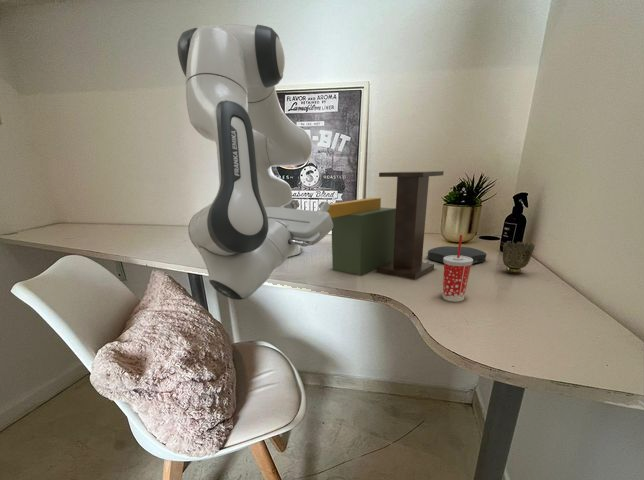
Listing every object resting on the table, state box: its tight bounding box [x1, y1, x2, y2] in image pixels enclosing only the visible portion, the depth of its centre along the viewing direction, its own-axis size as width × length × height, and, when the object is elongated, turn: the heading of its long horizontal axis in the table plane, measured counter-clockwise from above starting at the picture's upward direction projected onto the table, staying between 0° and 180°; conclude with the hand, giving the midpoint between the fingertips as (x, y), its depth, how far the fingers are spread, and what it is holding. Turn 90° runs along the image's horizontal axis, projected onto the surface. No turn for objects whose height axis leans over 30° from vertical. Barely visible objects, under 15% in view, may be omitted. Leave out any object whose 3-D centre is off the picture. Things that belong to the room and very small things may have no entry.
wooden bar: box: [327, 197, 382, 218], centre depth 91 cm, size 3×22×3 cm, turn 141°
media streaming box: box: [427, 245, 487, 265], centre depth 105 cm, size 15×15×3 cm
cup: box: [502, 240, 536, 275], centre depth 90 cm, size 8×7×8 cm
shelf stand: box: [376, 170, 444, 281], centre depth 90 cm, size 12×12×26 cm
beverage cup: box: [442, 234, 473, 303], centre depth 72 cm, size 6×6×14 cm
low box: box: [331, 207, 396, 276], centre depth 98 cm, size 10×18×16 cm, turn 142°
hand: (311, 203), depth 78 cm, fingers open, 8 cm apart
